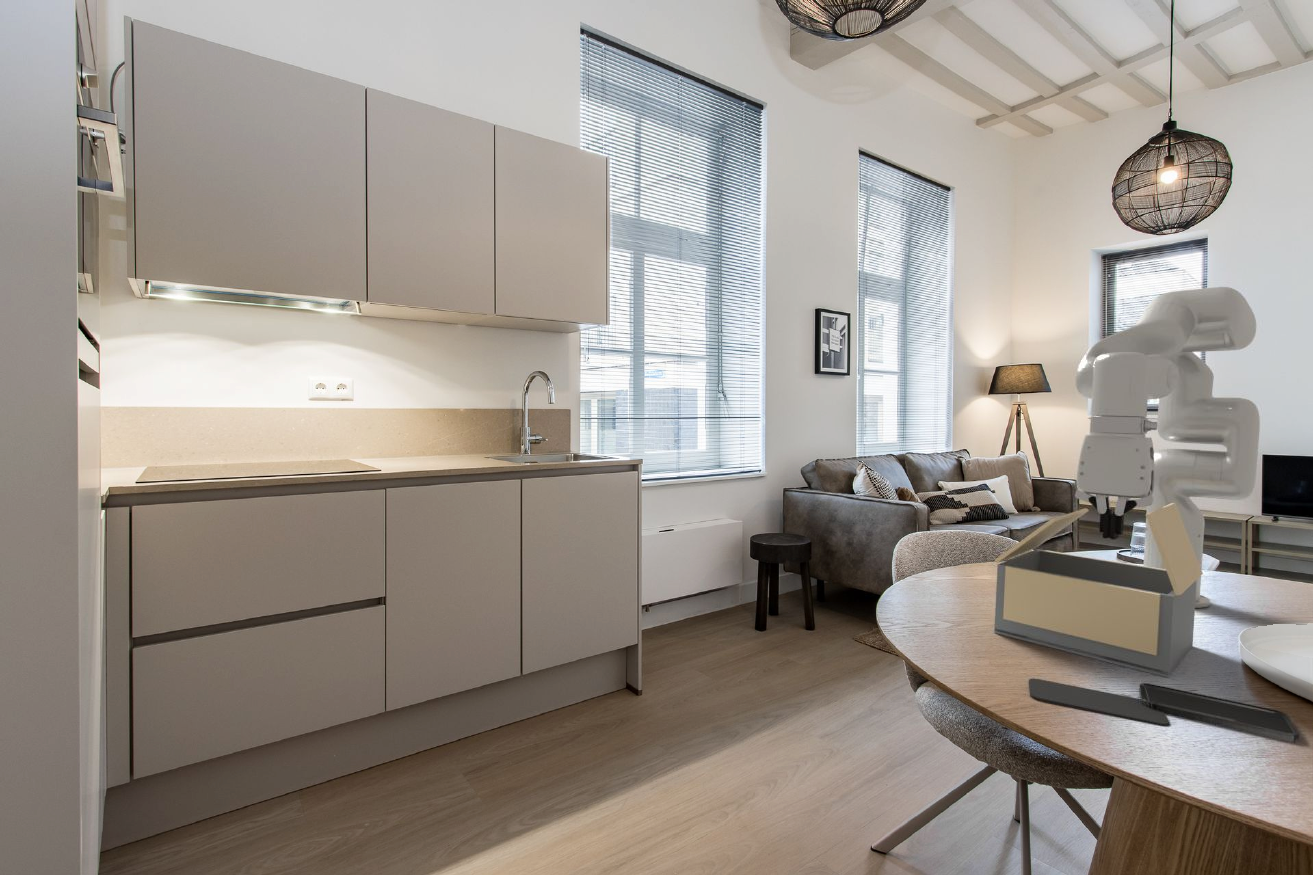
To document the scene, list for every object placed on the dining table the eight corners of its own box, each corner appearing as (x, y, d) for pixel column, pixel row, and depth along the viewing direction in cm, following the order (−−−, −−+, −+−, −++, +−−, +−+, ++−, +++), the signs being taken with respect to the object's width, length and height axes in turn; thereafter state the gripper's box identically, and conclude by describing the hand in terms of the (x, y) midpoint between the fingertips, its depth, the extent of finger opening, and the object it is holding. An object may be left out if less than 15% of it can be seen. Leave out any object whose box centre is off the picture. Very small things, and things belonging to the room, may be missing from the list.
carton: (1034, 609, 125) (1037, 548, 125) (1193, 645, 108) (1197, 574, 107) (992, 633, 111) (996, 564, 111) (1167, 678, 93) (1172, 597, 93)
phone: (1171, 726, 79) (1030, 696, 86) (1171, 732, 79) (1030, 702, 86) (1158, 702, 85) (1028, 676, 92) (1158, 708, 85) (1027, 682, 92)
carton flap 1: (1035, 548, 124) (1032, 545, 125) (1088, 510, 118) (1086, 508, 118) (996, 562, 111) (994, 560, 112) (1054, 521, 105) (1051, 518, 105)
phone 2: (1139, 681, 90) (1286, 711, 82) (1138, 689, 90) (1285, 720, 82) (1141, 701, 84) (1302, 736, 75) (1141, 709, 84) (1301, 746, 75)
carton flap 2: (1171, 503, 109) (1175, 502, 109) (1198, 574, 106) (1202, 573, 106) (1145, 514, 96) (1150, 513, 95) (1175, 595, 93) (1180, 594, 93)
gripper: (1179, 430, 103) (1172, 543, 104) (1072, 426, 114) (1066, 528, 115) (1170, 429, 98) (1162, 548, 99) (1059, 426, 109) (1052, 533, 110)
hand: (1110, 537), depth 107 cm, fingers closed
